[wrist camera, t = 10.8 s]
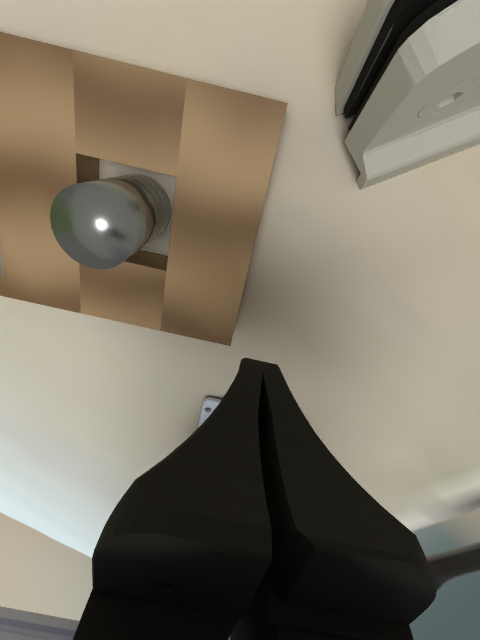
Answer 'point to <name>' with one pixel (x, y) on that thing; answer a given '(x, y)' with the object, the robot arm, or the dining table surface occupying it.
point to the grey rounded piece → (411, 85)
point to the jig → (142, 152)
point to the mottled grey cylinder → (109, 218)
